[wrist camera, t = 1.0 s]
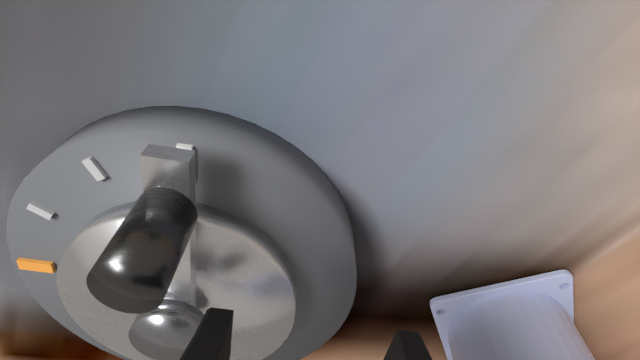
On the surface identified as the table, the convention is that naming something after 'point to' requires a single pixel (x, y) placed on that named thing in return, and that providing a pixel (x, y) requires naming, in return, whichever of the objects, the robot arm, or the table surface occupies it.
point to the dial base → (211, 190)
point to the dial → (175, 270)
